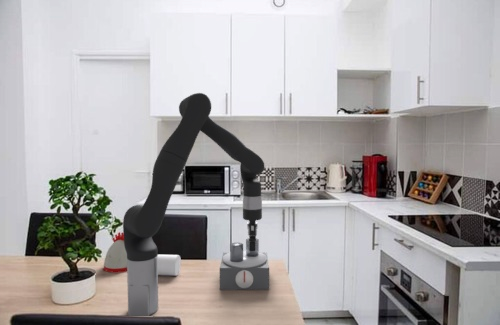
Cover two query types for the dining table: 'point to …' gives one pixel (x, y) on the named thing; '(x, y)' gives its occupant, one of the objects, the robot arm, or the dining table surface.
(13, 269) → the dining table surface
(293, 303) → the dining table surface
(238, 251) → the cylinder
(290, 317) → the dining table surface
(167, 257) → the mug
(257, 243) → the cylinder
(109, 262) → the kitchen timer
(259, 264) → the scale
